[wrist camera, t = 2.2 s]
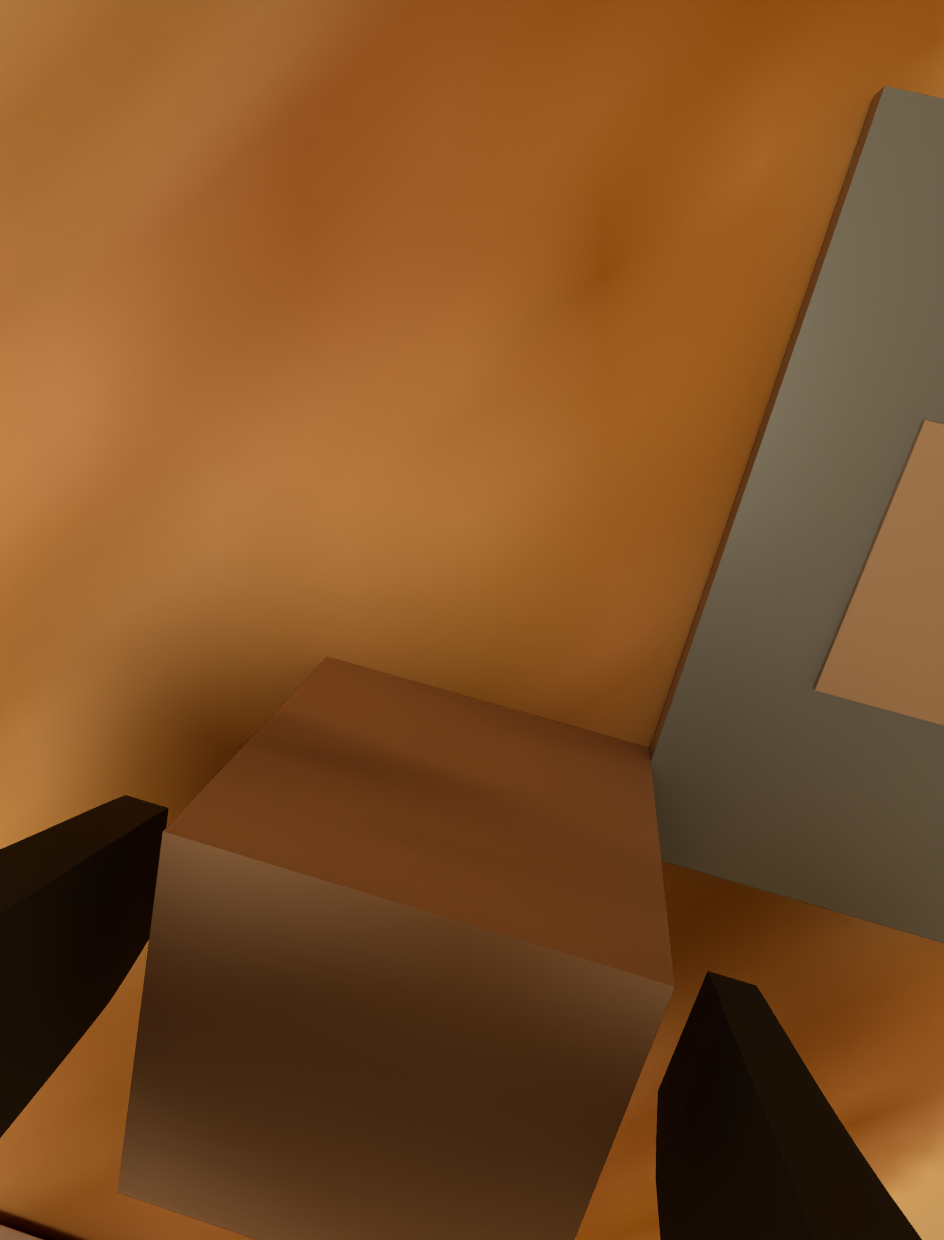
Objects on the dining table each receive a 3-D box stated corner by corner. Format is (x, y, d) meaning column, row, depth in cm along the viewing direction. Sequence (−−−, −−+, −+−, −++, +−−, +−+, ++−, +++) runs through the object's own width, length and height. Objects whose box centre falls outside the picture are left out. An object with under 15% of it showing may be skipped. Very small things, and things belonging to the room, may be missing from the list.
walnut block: (560, 1003, 14) (536, 1334, 9) (279, 917, 14) (116, 1192, 10) (648, 744, 12) (674, 986, 8) (328, 655, 13) (163, 831, 8)
